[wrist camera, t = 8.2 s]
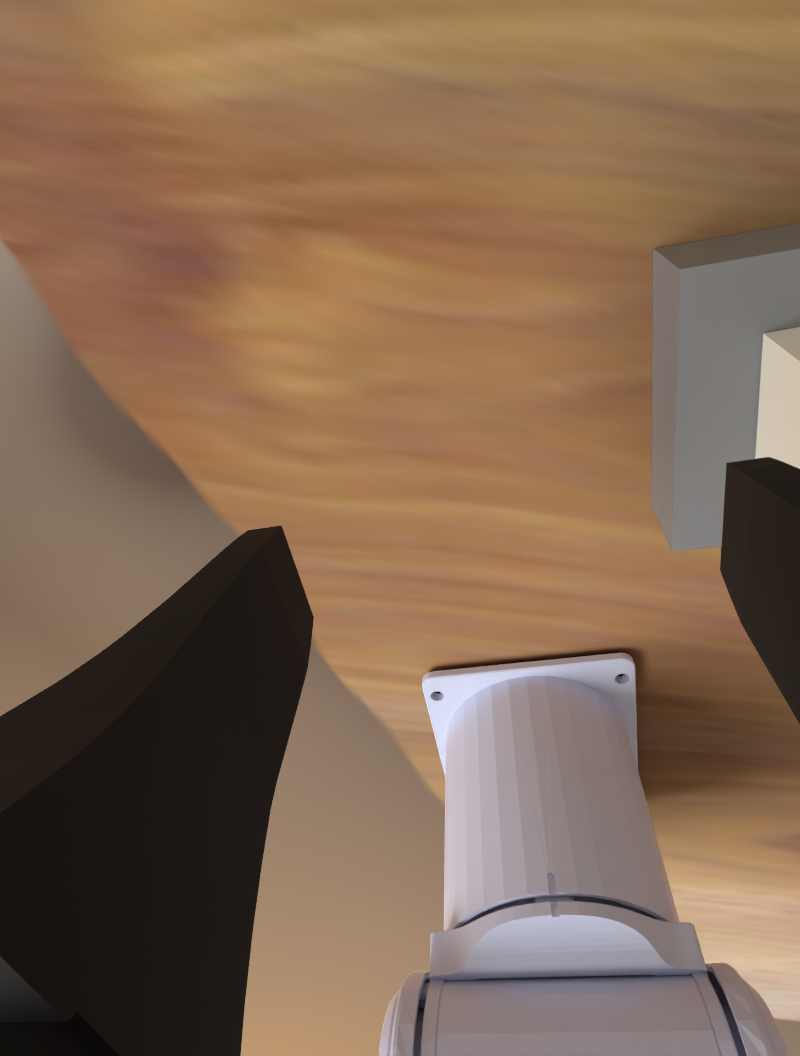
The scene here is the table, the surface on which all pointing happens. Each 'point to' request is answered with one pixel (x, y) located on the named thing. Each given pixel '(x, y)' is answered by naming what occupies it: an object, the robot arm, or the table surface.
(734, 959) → the table surface
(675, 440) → the gray base block
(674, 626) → the table surface
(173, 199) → the table surface
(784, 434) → the cream block
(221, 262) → the table surface
